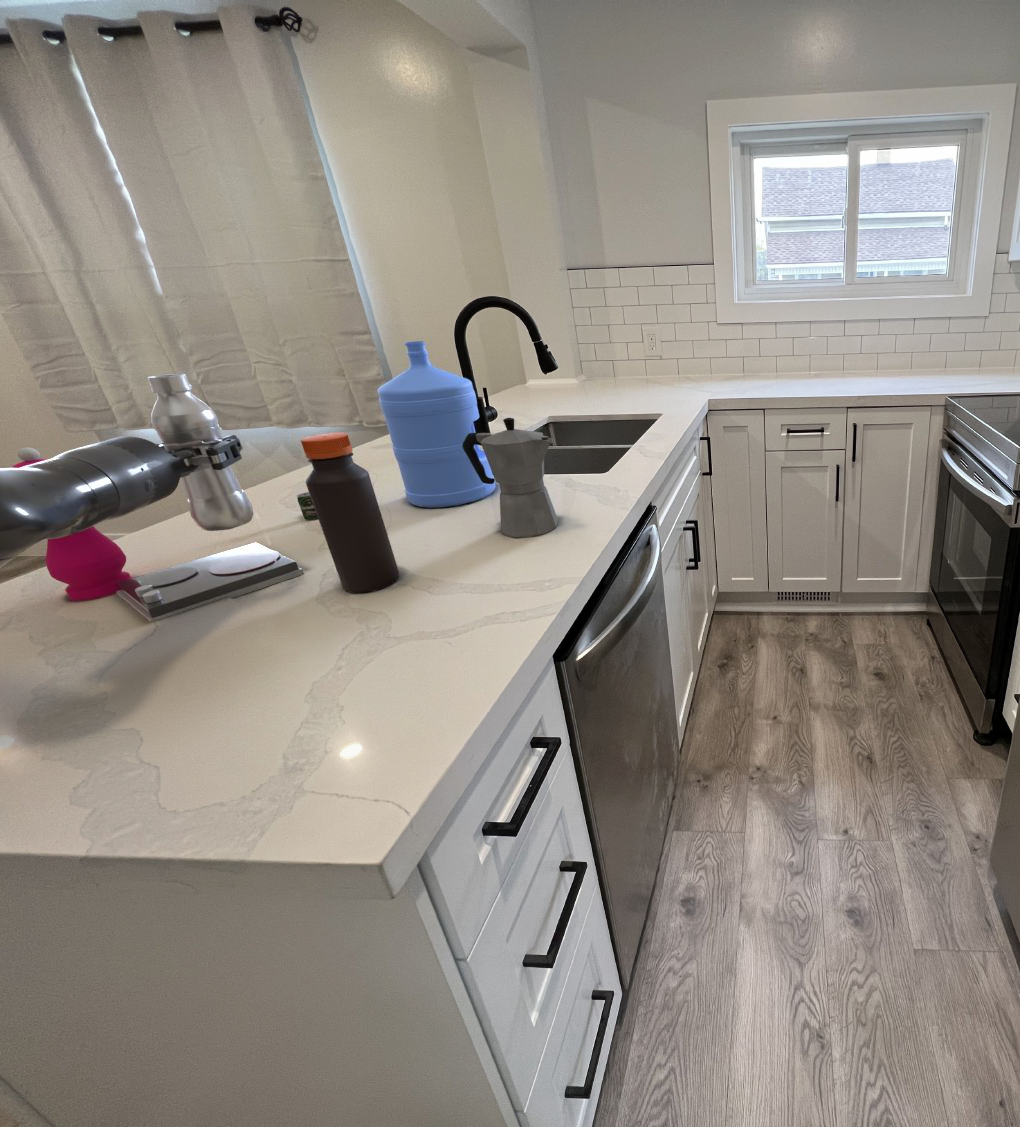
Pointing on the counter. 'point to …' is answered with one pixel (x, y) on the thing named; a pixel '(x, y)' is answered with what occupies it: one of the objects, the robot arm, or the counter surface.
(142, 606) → the hob
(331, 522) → the vinegar
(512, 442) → the coffeepot
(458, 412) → the water jug
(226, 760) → the counter surface
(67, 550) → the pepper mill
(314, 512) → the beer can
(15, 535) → the robot arm
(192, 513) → the silver metal bottle
